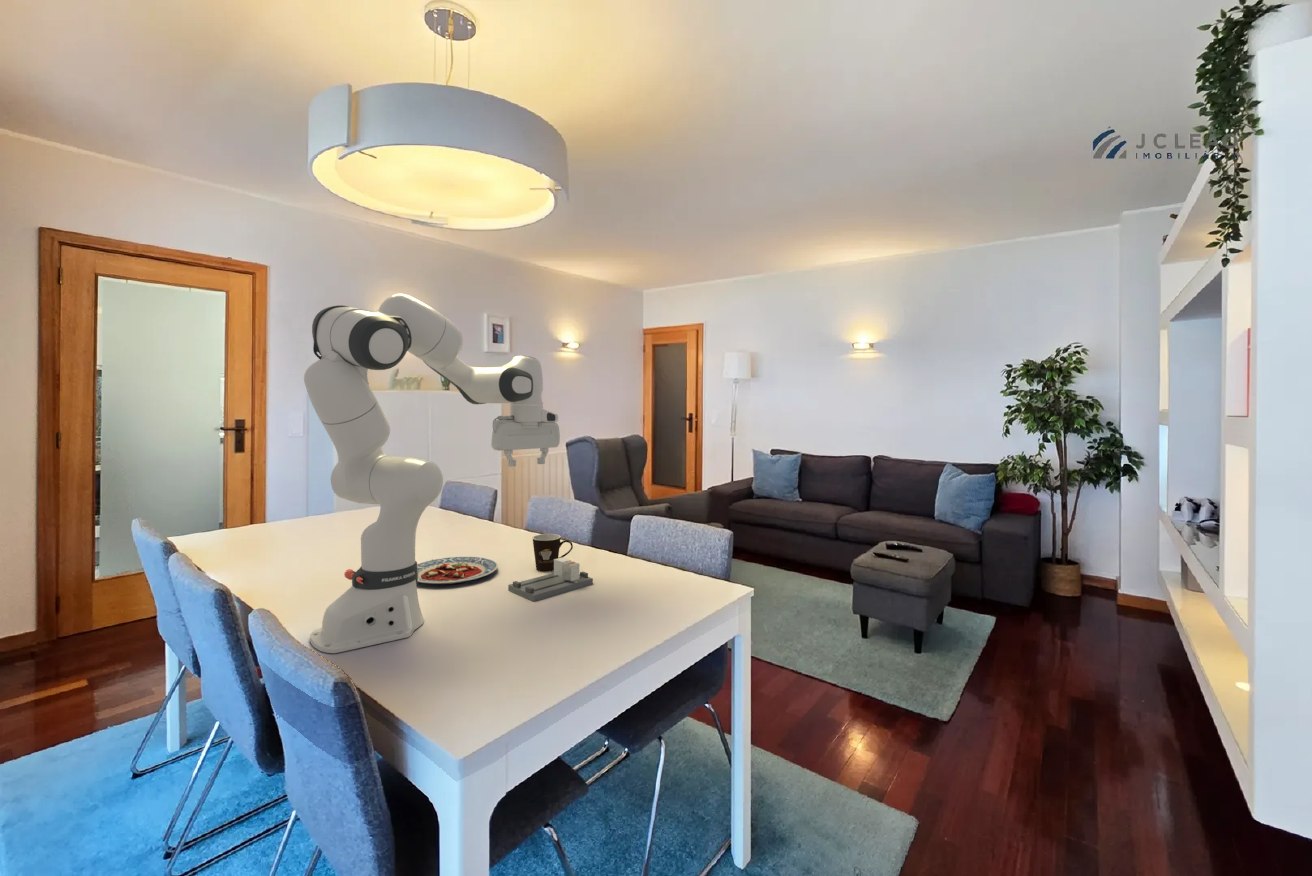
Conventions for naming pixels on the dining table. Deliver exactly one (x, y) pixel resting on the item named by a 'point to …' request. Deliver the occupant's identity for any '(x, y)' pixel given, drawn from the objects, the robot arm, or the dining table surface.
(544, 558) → the coffee mug
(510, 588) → the grey slider board
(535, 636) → the dining table surface
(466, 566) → the ceramic plate
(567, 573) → the block
